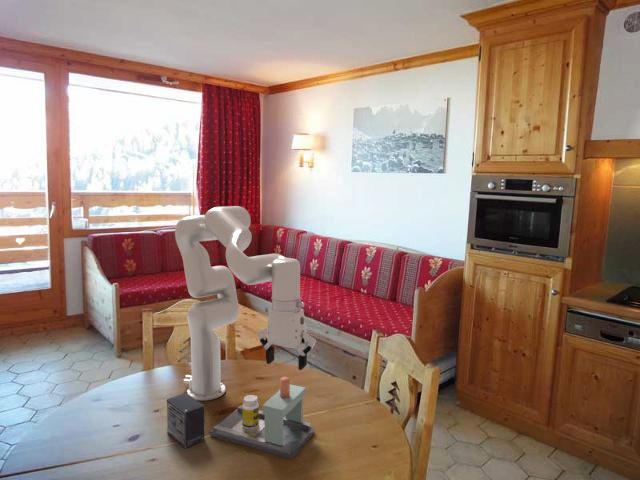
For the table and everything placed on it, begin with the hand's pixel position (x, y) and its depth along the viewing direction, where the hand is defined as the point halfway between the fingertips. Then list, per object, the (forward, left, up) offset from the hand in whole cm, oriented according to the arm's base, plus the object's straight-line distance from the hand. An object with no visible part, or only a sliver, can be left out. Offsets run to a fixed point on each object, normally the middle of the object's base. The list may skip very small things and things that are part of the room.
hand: (286, 365), depth 126 cm
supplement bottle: (-11, 0, -21) cm, 24 cm away
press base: (-7, 0, -22) cm, 23 cm away
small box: (-26, -10, -23) cm, 36 cm away
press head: (0, 0, -19) cm, 19 cm away
